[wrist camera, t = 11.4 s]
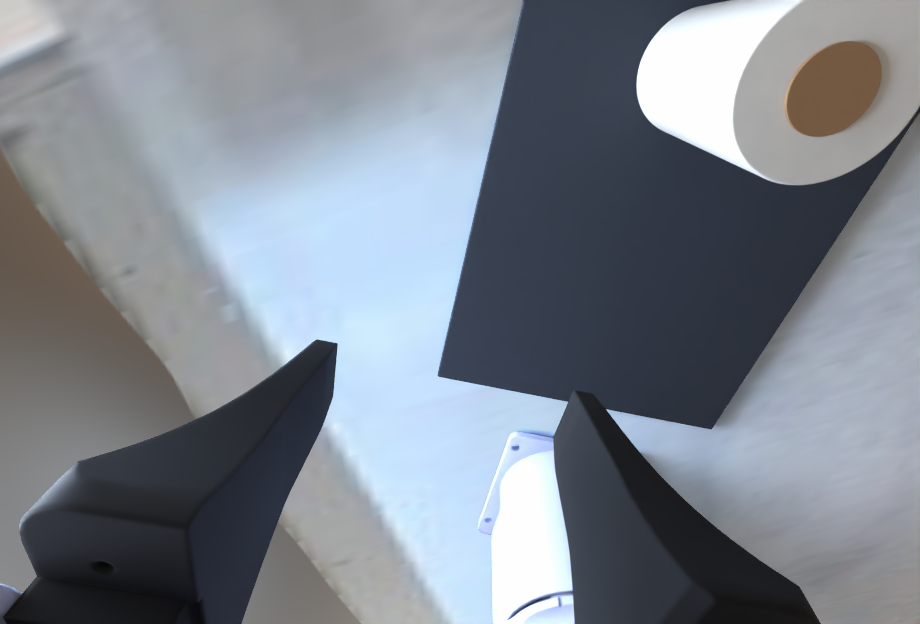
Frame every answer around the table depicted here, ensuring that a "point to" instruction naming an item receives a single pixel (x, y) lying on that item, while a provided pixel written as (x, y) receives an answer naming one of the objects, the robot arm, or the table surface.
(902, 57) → the paper roll
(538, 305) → the desk mat
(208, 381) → the table surface
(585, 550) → the robot arm
